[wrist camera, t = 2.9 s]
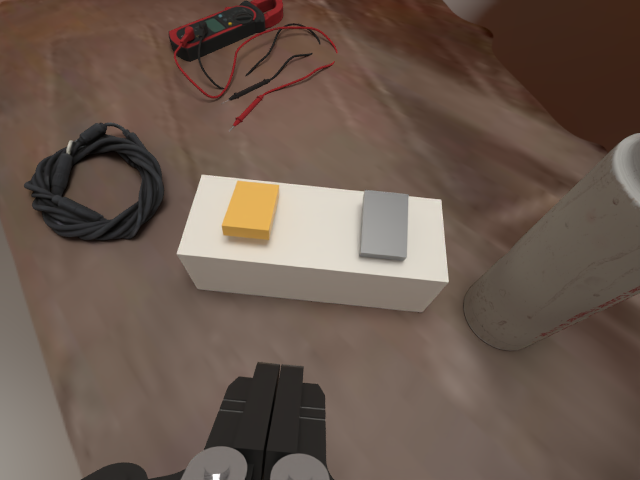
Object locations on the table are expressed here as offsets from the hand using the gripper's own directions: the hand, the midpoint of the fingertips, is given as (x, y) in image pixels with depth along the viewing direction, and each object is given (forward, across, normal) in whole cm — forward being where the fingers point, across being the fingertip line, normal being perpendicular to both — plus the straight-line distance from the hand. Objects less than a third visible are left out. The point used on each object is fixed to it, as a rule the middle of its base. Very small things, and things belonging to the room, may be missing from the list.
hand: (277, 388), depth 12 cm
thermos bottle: (+27, -22, +8) cm, 35 cm away
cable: (+35, +25, +1) cm, 43 cm away
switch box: (+30, -1, +5) cm, 30 cm away
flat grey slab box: (+23, -7, -1) cm, 24 cm away
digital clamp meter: (+55, +12, -20) cm, 60 cm away
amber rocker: (+23, +5, -1) cm, 24 cm away
